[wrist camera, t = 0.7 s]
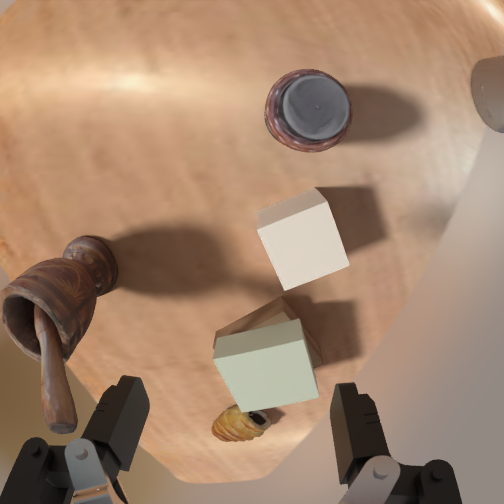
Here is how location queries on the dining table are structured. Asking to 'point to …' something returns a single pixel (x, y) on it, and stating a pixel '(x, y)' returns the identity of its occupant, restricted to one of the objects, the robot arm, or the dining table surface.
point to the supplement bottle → (308, 111)
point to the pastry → (240, 424)
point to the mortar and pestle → (57, 317)
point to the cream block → (301, 238)
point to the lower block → (270, 316)
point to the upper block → (267, 366)
